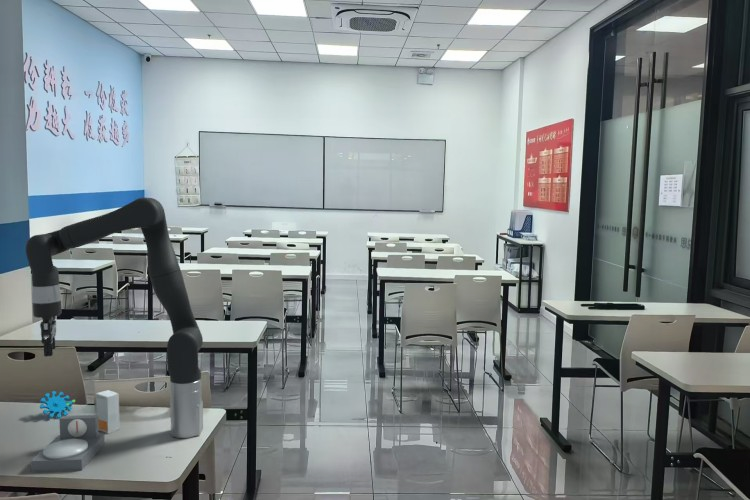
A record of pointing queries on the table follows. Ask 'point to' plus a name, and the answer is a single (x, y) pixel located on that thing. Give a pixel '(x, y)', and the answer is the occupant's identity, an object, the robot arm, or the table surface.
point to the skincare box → (108, 411)
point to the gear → (56, 404)
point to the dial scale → (71, 445)
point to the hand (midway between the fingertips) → (50, 352)
